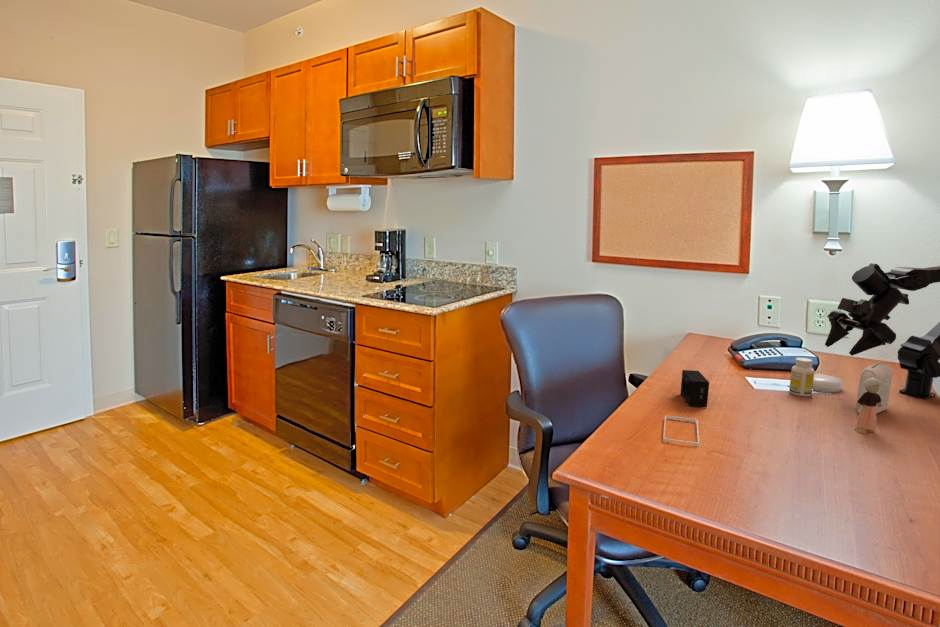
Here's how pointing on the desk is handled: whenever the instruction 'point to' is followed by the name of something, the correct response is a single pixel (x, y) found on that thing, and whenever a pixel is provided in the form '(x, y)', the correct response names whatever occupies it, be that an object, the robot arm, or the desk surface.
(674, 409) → the desk surface
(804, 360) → the supplement bottle
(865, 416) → the grandmother figurine
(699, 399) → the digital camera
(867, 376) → the photo printer
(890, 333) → the robot arm
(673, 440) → the phone case
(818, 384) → the plinth
